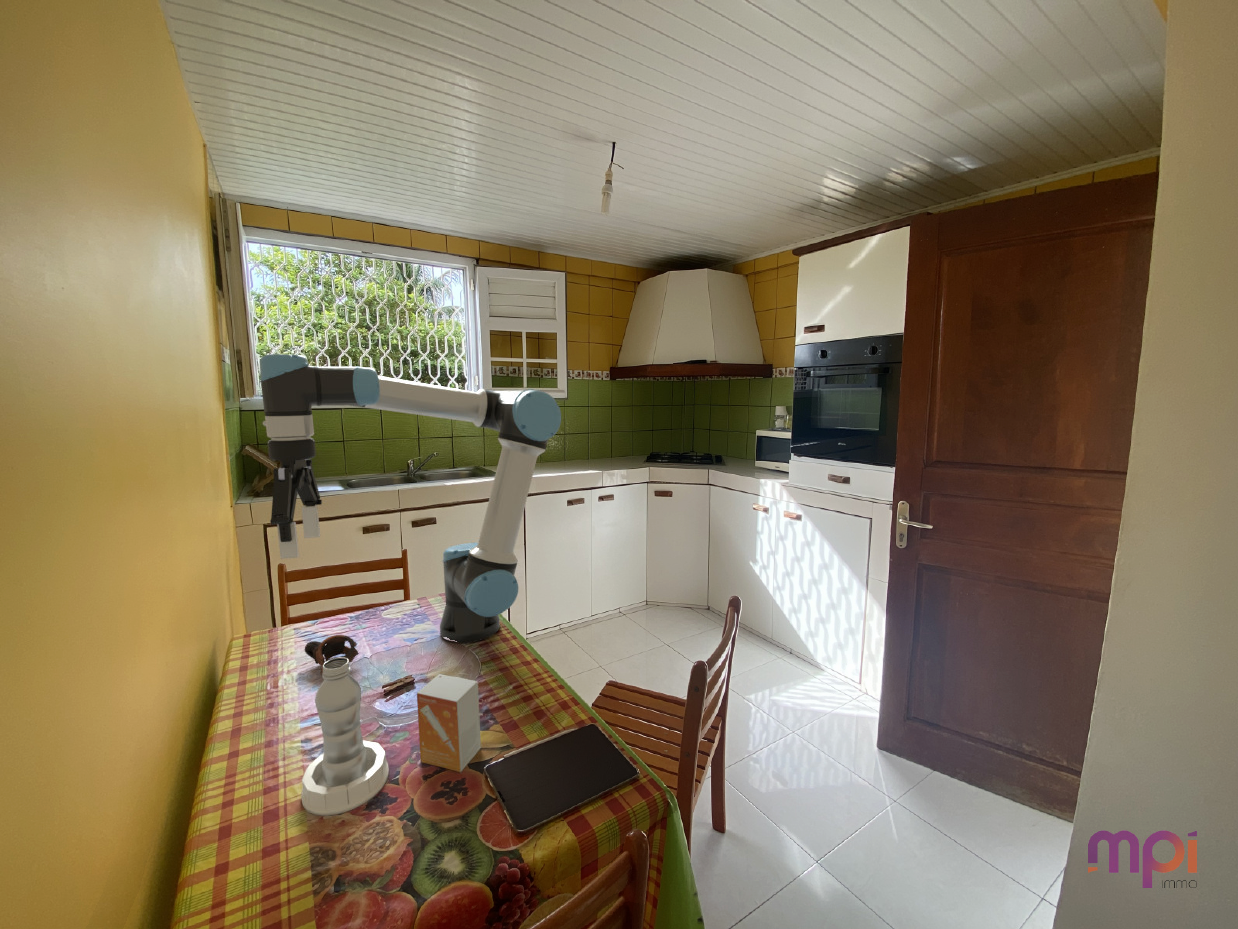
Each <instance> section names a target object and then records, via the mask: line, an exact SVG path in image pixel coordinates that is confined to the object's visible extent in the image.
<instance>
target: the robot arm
mask: <svg viewBox="0 0 1238 929" xmlns="http://www.w3.org/2000/svg"><path fill="white" fill-rule="evenodd" d="M259 373H260V375H259V376H260V388H261V395H262V403H263V411H264V419H265V420H263V421H262V425H263V426H265V428H266V429H265V430H266V437H268V438H270V440H268V442H267V451H268V458H269V459H270V461H275V462H280V467H277V468H275V467H274V468H273V471H272V472H273V492H272V505H271V517H270V522H269V523H270V525H272V526H273V525H274V526H275V525H276V526H277V527H276V528H277V535H278V546H279V555H280V556H279V557H280V559H281V560H283V559H284V560H285V559H296V558H299V557H300V554H299V545H298V544H299V542H298V534H297V533H298V532H297V523H296V521H294V517H295V516H294V515H295V511H296V504H297V497H298V496H299V499H300V501H301V503H302V505H303V506H301V508H300V509H301V515H302V517H301V518H302V526H303V537H304V539H311V538H320V537H321V531H320V521H319V520H320V519H319V508H318V505H319V506H320V505H321V506H322V505H323V500H322V499H321V494H320V491H319V487H318V484H317V481H316V480H317V479H316V476H315V473H314V469H313V460H312V459H313V458H315V457H316V455H317V452H316V443H315V442H316V441H315V440H314V438H313V437H312V436H314V435H315V430H314V420H313V411H312V406H315V407H321V406H338V407H339V406H340V407H341V406H350V407H356V408H357V407H358V408H366V409H374V410H382V411H387V412H388V411H389V412H396V413H403V414H411V415H416V416H417V415H419V416H425V417H432V418H439V419H447V420H455V421H462V422H469V423H472V424H473V425H474V426H475V427H476V428H484V429H488V430H493V431H496V432H499V433H498V437H497V441H498V442H499V444H500V445H501V451H500V456H499V459H498V463H497V467H496V472H495V475H494V479H493V484H492V488H491V491H490V495H489V499H488V503H487V507H486V511H485V515H484V517H483V518H484V519H483V523H482V525H481V526H482V527H481V531H480V535H479V539H478V542H469V543H468V542H467V543H461V544H456V545H452V546H449V547H447V548H445V550H444V551H443V553H442V554H443V555H442V556H443V557H442V563H443V564H442V565H443V580H444V581H443V582H444V596H445V597H444V598H445V605H444V610H443V613H442V616H441V620H440V624H439V633H440V637H441V636H442V637H447V638H449V639H450V640H455V641H457V642H459V643H458V644H464V643H465V644H467V643H474V642H478V641H482V640H485V639H488V638H490V637H491V636H493V635H495V634H496V633H497V632H498V631H499V630H500V628H501V627H500V626H501V625H500V616H499V615H501V614H503V613H504V612H506V611H507V610H508V609H510V608H511V607H512V606H513V604H514V603H515V601H516V600H517V597H518V594H519V584H518V583H519V582H518V580H517V578H516V576H515V572H516V571H517V570H516V569H517V565H518V561H519V560H518V559H517V556H516V555H515V553H514V552H515V551H514V550H515V546H516V543H517V540H518V536H519V531H520V527H521V524H522V519H523V515H524V511H525V507H526V502H527V499H528V496H529V492H530V488H531V484H532V479H533V475H534V472H535V467H536V463H537V460H538V457H539V456H540V455H542V454H543V453H544V452H546V450H547V446H548V442H549V439H550V438H552V437H554V436H555V435H556V433H557V432H558V431H559V429H560V426H561V423H562V411H561V408H560V406H559V405H558V403H557V401H556V400H555V398H554V397H553V396H551V395H550V394H549V393H547V392H545V391H542V390H540V389H539V390H538V389H533V388H529V389H509V390H507V389H506V390H489V389H485V388H484V389H483V388H480V389H478V390H477V391H470V390H465V389H460V388H459V389H458V388H454V387H448V386H442V385H436V384H435V385H434V384H429V383H425V382H417V381H412V380H405V379H398V378H392V377H387V376H381V375H379V374H378V373H377V370H376V369H374V368H372V367H361V366H314V365H310V364H309V362H308V359H307V357H306V356H304V355H301V354H300V355H299V354H288V353H287V354H286V353H283V354H282V353H280V354H279V353H278V354H277V353H275V354H274V353H272V354H264V355H262V357H261V358H260V360H259ZM442 637H441V638H442Z"/></svg>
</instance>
